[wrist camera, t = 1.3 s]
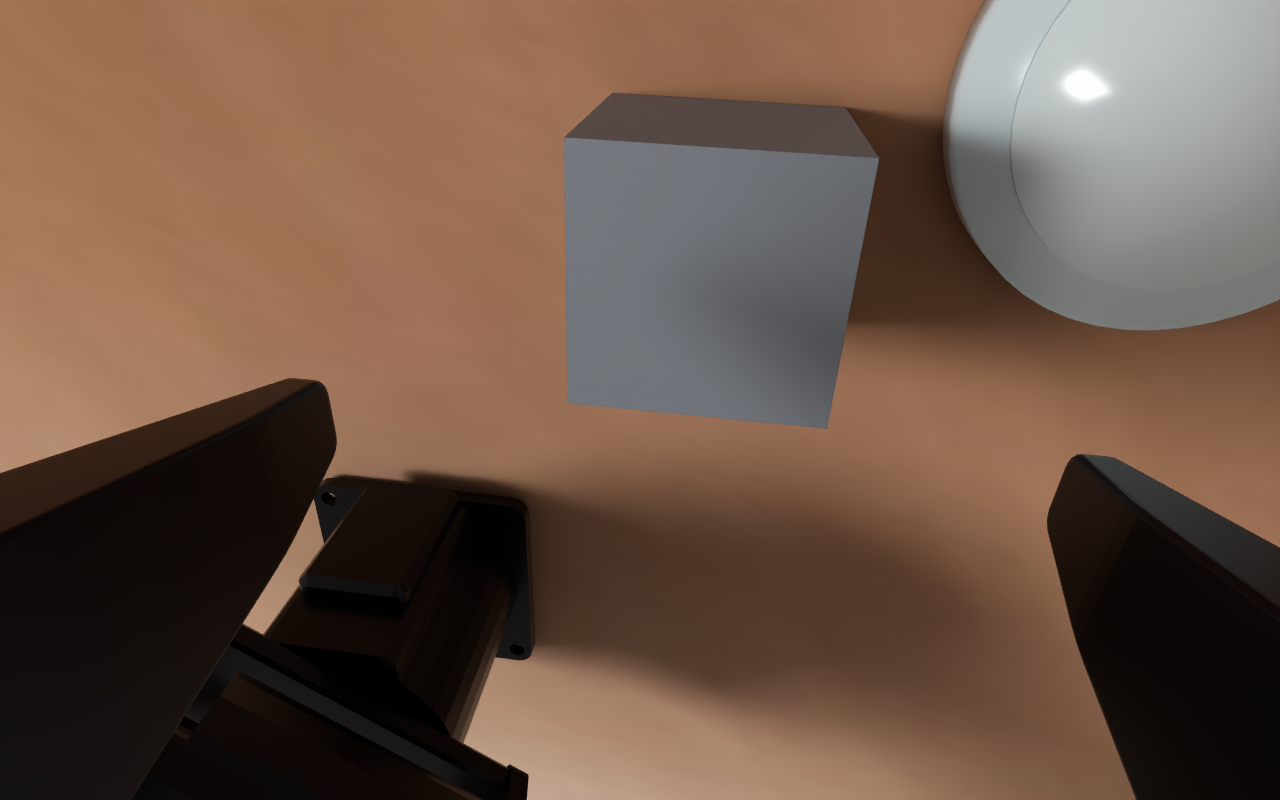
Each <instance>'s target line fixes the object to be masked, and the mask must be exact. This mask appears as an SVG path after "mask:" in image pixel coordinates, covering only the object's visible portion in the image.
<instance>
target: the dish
mask: <svg viewBox="0 0 1280 800" xmlns="http://www.w3.org/2000/svg"><path fill="white" fill-rule="evenodd" d="M942 147H943V157H944V167H945V175H946V179H947V183H948V187H949V191H950V195H951V198H952V201H953V203H954V206H955V208H956V210H957V213H958V215H959V218H960V220H961V222H962V224H963V225H964V227H965V229H966V230H967V232H968V233H969V235H970V237H971V238H972V240H973V241H974V243H975V244H976V245H977V247H978V248H979V249H980V250H981V251H982V253H983V254H984V255H985V256H986V258H987V259H988V260H989V261H990V262H991V264H992V265H993V266H994V267H995V268H996V269H997V271H998V272H999V273H1000V274H1001V275H1002V276H1003V277H1004V279H1005V280H1007V281H1008V282H1009V283H1010V284H1011V285H1013V286H1014V287H1015V288H1016V289H1017V290H1019V291H1020V292H1021V293H1022V294H1023V295H1025V296H1026V297H1028V298H1030V299H1031V300H1033V301H1034V302H1036V303H1038V304H1039V305H1041V306H1043V307H1044V308H1046V309H1048V310H1051V311H1053V312H1055V313H1058V314H1060V315H1062V316H1065V317H1067V318H1069V319H1073V320H1077V321H1080V322H1084V323H1087V324H1091V325H1095V326H1101V327H1108V328H1115V329H1122V330H1165V329H1177V328H1186V327H1191V326H1196V325H1202V324H1207V323H1212V322H1217V321H1220V320H1224V319H1227V318H1230V317H1234V316H1237V315H1241V314H1244V313H1247V312H1250V311H1253V310H1255V309H1258V308H1260V307H1263V306H1265V305H1268V304H1271V303H1273V302H1276V301H1278V300H1280V0H984V2H983V4H982V6H981V7H980V9H979V11H978V13H977V15H976V16H975V18H974V20H973V22H972V24H971V26H970V28H969V30H968V33H967V35H966V37H965V40H964V42H963V45H962V47H961V49H960V52H959V54H958V56H957V60H956V63H955V67H954V70H953V74H952V77H951V80H950V84H949V87H948V93H947V99H946V105H945V111H944V117H943V145H942Z"/></svg>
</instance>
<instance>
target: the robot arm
mask: <svg viewBox="0 0 1280 800" xmlns="http://www.w3.org/2000/svg"><path fill="white" fill-rule="evenodd" d="M336 445H337V437H336V431H335V426H334V421H333V416H332V411H331V405H330V400H329V395H328V392H327V389H326V387H325V386H324V385H323V384H322V383H321V382H320V381H316V380H307V379H296V378H289V379H285V380H282V381H279V382H276V383H273V384H270V385H266V386H263V387H260V388H257V389H254V390H251V391H248V392H245V393H242V394H239V395H236V396H233V397H230V398H227V399H224V400H221V401H218V402H215V403H212V404H209V405H206V406H203V407H200V408H197V409H194V410H191V411H188V412H184V413H181V414H178V415H175V416H172V417H169V418H166V419H163V420H160V421H157V422H154V423H151V424H148V425H145V426H142V427H139V428H136V429H133V430H130V431H127V432H124V433H121V434H118V435H115V436H112V437H109V438H106V439H103V440H99V441H96V442H93V443H90V444H87V445H84V446H81V447H78V448H75V449H72V450H69V451H66V452H63V453H60V454H57V455H54V456H51V457H48V458H45V459H42V460H39V461H36V462H33V463H30V464H27V465H24V466H21V467H17V468H14V469H11V470H8V471H5V472H2V473H0V800H527V789H528V774H527V773H525V772H523V771H521V770H519V769H517V768H516V767H514V766H512V765H508V766H507V767H506V766H504V765H502V764H500V763H498V762H497V761H495V760H493V759H491V758H489V757H487V756H486V755H484V754H482V753H480V752H478V751H476V750H474V749H473V748H471V747H469V746H467V745H465V744H463V743H464V740H465V738H466V735H467V732H468V729H469V727H470V724H471V721H472V719H473V716H474V713H475V710H476V708H477V705H478V702H479V700H480V697H481V694H482V691H483V689H484V686H485V683H486V681H487V678H488V675H489V672H490V670H491V667H492V664H493V662H494V659H495V657H498V658H506V659H514V660H525V659H528V658H529V657H530V656H531V654H532V651H533V647H534V644H535V635H534V614H533V593H532V572H531V551H530V529H529V512H528V508H527V507H526V505H525V504H524V503H523V502H522V501H520V500H518V499H515V498H512V497H503V496H494V495H485V494H476V493H467V492H458V491H449V490H440V489H430V488H421V487H412V486H403V485H394V484H385V483H376V482H367V481H358V480H349V479H340V478H327V479H325V480H323V478H324V476H325V474H326V472H327V470H328V467H329V465H330V463H331V461H332V459H333V457H334V454H335V451H336ZM322 480H323V481H322ZM329 493H332V494H334V495H335V496H336V497H333V496H332V495H330V494H329ZM313 499H314V501H315V506H316V510H317V514H318V519H319V523H320V527H321V532H322V536H323V541H324V545H323V546H322V548H321V549H320V550H319V552H318V553H317V554H316V556H315V557H314V558H313V560H312V561H311V563H310V564H309V565H308V567H307V568H306V569H305V571H304V572H303V573H302V575H301V576H300V578H299V584H300V585H299V586H298V587H297V589H296V590H295V592H294V593H293V594H292V596H291V597H290V598H289V600H288V601H287V603H286V604H285V605H284V607H283V608H282V609H281V611H280V612H279V614H278V615H277V616H276V618H275V619H274V620H273V622H272V623H271V625H270V626H269V627H268V629H267V630H266V631H265V633H264V634H261V633H259V632H257V631H256V630H254V629H252V628H250V627H248V626H246V625H244V624H243V622H244V620H245V619H246V617H247V616H248V614H249V613H250V611H251V609H252V608H253V606H254V605H255V603H256V601H257V600H258V598H259V597H260V595H261V593H262V592H263V590H264V589H265V587H266V586H267V584H268V582H269V581H270V579H271V578H272V576H273V574H274V573H275V571H276V570H277V568H278V566H279V565H280V563H281V561H282V560H283V558H284V556H285V555H286V553H287V551H288V549H289V547H290V545H291V543H292V542H293V540H294V538H295V536H296V534H297V532H298V530H299V528H300V526H301V523H302V521H303V519H304V517H305V515H306V513H307V511H308V509H309V507H310V505H311V503H312V501H313ZM507 512H509V513H512V514H513V515H515V516H516V517H514V518H512V517H509V516H508V515H506V514H505V513H507ZM1047 529H1048V534H1049V538H1050V542H1051V546H1052V550H1053V554H1054V558H1055V562H1056V566H1057V570H1058V574H1059V578H1060V582H1061V586H1062V590H1063V594H1064V598H1065V602H1066V606H1067V610H1068V614H1069V618H1070V622H1071V626H1072V629H1073V632H1074V636H1075V639H1076V643H1077V646H1078V649H1079V651H1080V654H1081V657H1082V660H1083V663H1084V665H1085V668H1086V671H1087V673H1088V676H1089V678H1090V681H1091V684H1092V686H1093V689H1094V691H1095V694H1096V697H1097V699H1098V702H1099V704H1100V707H1101V710H1102V712H1103V715H1104V717H1105V720H1106V723H1107V725H1108V728H1109V730H1110V733H1111V736H1112V738H1113V741H1114V744H1115V746H1116V749H1117V751H1118V754H1119V757H1120V759H1121V762H1122V764H1123V767H1124V770H1125V772H1126V775H1127V777H1128V780H1129V783H1130V785H1131V788H1132V790H1133V793H1134V796H1135V798H1136V800H1280V548H1279V547H1278V546H1276V545H1274V544H1272V543H1270V542H1268V541H1267V540H1265V539H1263V538H1261V537H1259V536H1257V535H1256V534H1254V533H1252V532H1250V531H1248V530H1246V529H1245V528H1243V527H1241V526H1239V525H1237V524H1235V523H1234V522H1232V521H1230V520H1228V519H1226V518H1224V517H1223V516H1221V515H1219V514H1217V513H1215V512H1213V511H1212V510H1210V509H1208V508H1206V507H1204V506H1202V505H1201V504H1199V503H1197V502H1195V501H1193V500H1191V499H1190V498H1188V497H1186V496H1184V495H1182V494H1180V493H1179V492H1177V491H1175V490H1173V489H1171V488H1169V487H1168V486H1166V485H1164V484H1162V483H1160V482H1158V481H1157V480H1155V479H1153V478H1151V477H1149V476H1147V475H1146V474H1144V473H1142V472H1140V471H1138V470H1136V469H1135V468H1133V467H1131V466H1129V465H1127V464H1125V463H1124V462H1122V461H1120V460H1118V459H1116V458H1113V457H1108V456H1098V455H1087V454H1078V455H1076V456H1074V457H1072V458H1071V459H1070V461H1069V462H1068V464H1067V465H1066V467H1065V470H1064V473H1063V475H1062V478H1061V480H1060V483H1059V485H1058V488H1057V490H1056V493H1055V496H1054V498H1053V501H1052V503H1051V506H1050V508H1049V512H1048V517H1047ZM517 644H518V645H517ZM520 645H521V646H520Z"/></svg>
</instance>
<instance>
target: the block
mask: <svg viewBox="0 0 1280 800" xmlns="http://www.w3.org/2000/svg"><path fill="white" fill-rule="evenodd" d="M878 162H879V157H878V156H877V154H876V153H875V151H874V150H873V148H872V147H871V145H870V144H869V142H868V141H867V139H866V138H865V136H864V135H863V133H862V132H861V130H860V129H859V127H858V126H857V124H856V122H855V121H854V119H853V118H852V116H851V115H850V113H849V112H848V110H847V109H846V107H837V106H820V105H804V104H787V103H771V102H754V101H737V100H721V99H704V98H687V97H671V96H654V95H638V94H621V93H612V94H611V95H610V96H609V97H607V98H606V99H605V100H604V101H603V102H602V103H601V104H600V105H599V106H598V107H597V108H596V109H594V110H593V111H592V112H591V113H590V114H589V115H588V116H587V117H586V118H585V119H584V120H583V121H581V122H580V123H579V124H578V125H577V126H576V127H575V128H574V129H573V130H572V131H571V132H570V133H568V134H567V135H566V136H565V137H564V165H565V243H566V322H567V400H568V403H572V404H582V405H592V406H602V407H612V408H622V409H632V410H642V411H653V412H663V413H673V414H683V415H693V416H703V417H713V418H723V419H734V420H744V421H754V422H764V423H774V424H784V425H794V426H804V427H814V428H825V429H827V425H828V420H829V414H830V409H831V404H832V399H833V394H834V389H835V383H836V378H837V373H838V368H839V363H840V358H841V353H842V347H843V342H844V337H845V332H846V327H847V322H848V317H849V311H850V306H851V301H852V296H853V291H854V286H855V281H856V275H857V270H858V265H859V260H860V255H861V250H862V245H863V239H864V234H865V229H866V224H867V219H868V214H869V208H870V203H871V198H872V193H873V188H874V183H875V178H876V172H877V167H878Z"/></svg>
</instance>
